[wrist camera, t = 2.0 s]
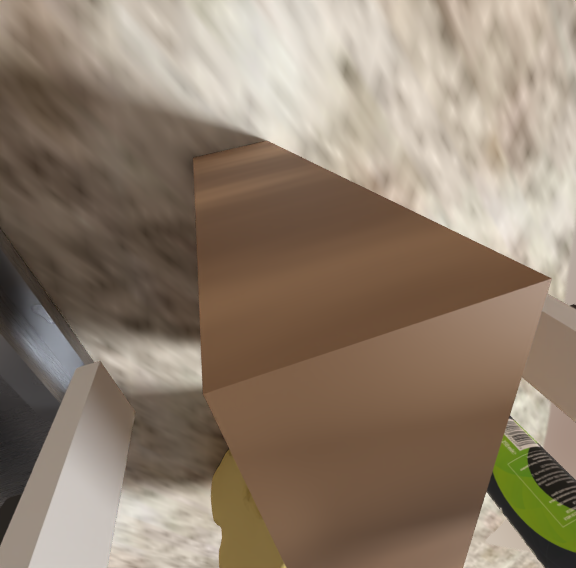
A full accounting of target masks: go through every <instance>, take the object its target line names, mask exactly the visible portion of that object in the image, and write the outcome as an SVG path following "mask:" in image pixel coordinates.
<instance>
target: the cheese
mask: <svg viewBox="0 0 576 568" xmlns="http://www.w3.org/2000/svg"><path fill="white" fill-rule="evenodd" d="M211 505H212V513H213V519H214V521H215V523H216V524H217V525H219V526H220V527H221V529H222V541H221V546H220V549H219V568H286V566H285V564H284V562H283V560H282V558H281V556H280V554H279V552H278V549H277V547H276V545H275V543H274V541H273V539H272V537H271V535H270V533H269V531H268V529H267V527H266V524H265V522H264V520H263V518H262V516H261V514H260V512H259V510H258V508H257V506H256V504H255V502H254V499H253V497H252V495H251V493H250V491H249V489H248V487H247V485H246V483H245V481H244V479H243V477H242V474H241V472H240V470H239V468H238V466H237V464H236V462H235V460H234V458H233V456H232V454H231V452H230V449H229V450H228V451H227V452H226V454H225V456H224V458H223V459H222V461H221V464H220V465H219V467H218V468H217V470H216V472H215V473H214V476H213V479H212V487H211Z"/></svg>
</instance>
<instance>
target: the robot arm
mask: <svg viewBox="0 0 576 568" xmlns="http://www.w3.org/2000/svg"><path fill="white" fill-rule="evenodd" d="M522 378H524V379H525V380H526V381H527V382H528V383H530V384H531V385H532V386H533V387H534V388H535V389H537V390H538V391H539V392H540V393H541V394H543V395H544V396H545V397H546V398H547V399H548V400H550V401H551V402H552V403H553V404H555V405H556V406H557V407H558V408H559V409H560V410H561V411H563V412H564V413H565V414H566V415H567V416H569V417H570V418H571V419H572V420H573V421H575V422H576V305H574V304H573V305H570V306H569V305H567V304H565V303H564V302H562V301H560V300H558V299H556V298H555V297H553V296H551V295H549V294H547V296H546V299H545V302H544V306H543V309H542V312H541V315H540V319H539V322H538V325H537V328H536V332H535V335H534V338H533V341H532V345H531V348H530V351H529V354H528V358H527V361H526V364H525V367H524V371H523V374H522ZM134 417H135V410H134V409H133V408H132V406H131V405H130V403H129V402H128V400H127V399H126V398H125V396H124V395H123V393H122V392H121V390H120V389H119V387H118V386H117V385H116V383H115V382H114V380H113V379H112V377H111V376H110V374H109V373H108V372H107V370H106V369H105V367H104V366H103V364H102V363H101V361H98V362H95V363H91V364H88V365H85V366H81V367H78V368H76V370H75V372H74V374H73V377H72V379H71V381H70V384H69V386H68V388H67V391H66V393H65V395H64V398H63V400H62V402H61V405H60V407H59V409H58V412H57V414H56V417H55V419H54V421H53V424H52V426H51V428H50V431H49V433H48V435H47V438H46V440H45V442H44V445H43V447H42V449H41V452H40V454H39V456H38V459H37V461H36V463H35V466H34V468H33V470H32V473H31V475H30V477H29V480H28V482H27V484H26V487H25V489H24V491H23V493H22V494H19V495H16V496H13V497H10V498H7V500H6V501H5V502H4V504H3V505H2V506H1V508H0V568H108V563H109V557H110V552H111V546H112V540H113V535H114V529H115V524H116V518H117V512H118V507H119V501H120V496H121V490H122V484H123V479H124V473H125V468H126V462H127V456H128V451H129V445H130V440H131V434H132V428H133V423H134Z"/></svg>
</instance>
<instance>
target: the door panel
mask: <svg viewBox="0 0 576 568" xmlns="http://www.w3.org/2000/svg"><path fill="white" fill-rule="evenodd" d="M193 170H194V194H195V218H196V242H197V266H198V289H199V313H200V337H201V361H202V385H203V395H204V397H205V399H206V402H207V404H208V406H209V408H210V410H211V412H212V414H213V416H214V418H215V420H216V422H217V424H218V427H219V429H220V431H221V433H222V435H223V437H224V439H225V441H226V443H227V445H228V447H229V449H230V452H231V454H232V456H233V458H234V460H235V462H236V464H237V466H238V468H239V470H240V472H241V474H242V477H243V479H244V481H245V483H246V485H247V487H248V489H249V491H250V493H251V495H252V497H253V499H254V502H255V504H256V506H257V508H258V510H259V512H260V514H261V516H262V518H263V520H264V522H265V524H266V527H267V529H268V531H269V533H270V535H271V537H272V539H273V541H274V543H275V545H276V547H277V549H278V552H279V554H280V556H281V558H282V560H283V562H284V564H285V566H286V568H463V566H464V562H465V559H466V556H467V553H468V549H469V546H470V543H471V540H472V536H473V533H474V530H475V527H476V523H477V520H478V517H479V514H480V510H481V507H482V504H483V501H484V497H485V494H486V491H487V488H488V484H489V481H490V478H491V475H492V471H493V468H494V465H495V462H496V458H497V455H498V452H499V449H500V445H501V442H502V439H503V436H504V432H505V429H506V426H507V423H508V419H509V416H510V413H511V410H512V406H513V403H514V400H515V397H516V393H517V390H518V387H519V384H520V380H521V377H522V374H523V371H524V367H525V364H526V361H527V358H528V354H529V351H530V348H531V345H532V341H533V338H534V335H535V332H536V328H537V325H538V322H539V319H540V315H541V312H542V309H543V306H544V302H545V299H546V296H547V293H548V289H549V286H550V283H551V280H552V279H551V278H549V277H547V276H545V275H543V274H541V273H539V272H537V271H535V270H533V269H531V268H529V267H527V266H525V265H523V264H521V263H518V262H516V261H514V260H512V259H510V258H508V257H506V256H504V255H502V254H500V253H498V252H496V251H494V250H492V249H490V248H488V247H485V246H483V245H481V244H479V243H477V242H475V241H473V240H471V239H469V238H467V237H465V236H463V235H461V234H459V233H457V232H454V231H452V230H450V229H448V228H446V227H444V226H442V225H440V224H438V223H436V222H434V221H432V220H430V219H428V218H426V217H424V216H421V215H419V214H417V213H415V212H413V211H411V210H409V209H407V208H405V207H403V206H401V205H399V204H397V203H395V202H393V201H391V200H388V199H386V198H384V197H382V196H380V195H378V194H376V193H374V192H372V191H370V190H368V189H366V188H364V187H362V186H360V185H357V184H355V183H353V182H351V181H349V180H347V179H345V178H343V177H341V176H339V175H337V174H335V173H333V172H331V171H329V170H327V169H324V168H322V167H320V166H318V165H316V164H314V163H312V162H310V161H308V160H306V159H304V158H302V157H300V156H298V155H296V154H294V153H291V152H289V151H287V150H285V149H283V148H281V147H279V146H277V145H275V144H273V143H271V142H269V141H264V142H259V143H255V144H251V145H246V146H242V147H238V148H233V149H229V150H225V151H220V152H216V153H212V154H207V155H203V156H199V157H194V158H193Z"/></svg>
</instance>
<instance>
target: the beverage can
mask: <svg viewBox="0 0 576 568" xmlns="http://www.w3.org/2000/svg"><path fill="white" fill-rule="evenodd" d="M486 492H487V493H488V494H489V496H490V497H491V498H492V500H493V501H494V502H495V504H496V505H497V506H498V507H499V509H500V510H501V511H502V513H503V514H504V515H505V517H506V518H507V519H508V520H509V522H510V523H511V525H512V526H513V527H514V529H515V530H516V531H517V532H518V534H519V535H520V536H521V537H522V539H523V540H524V542H525V543H526V544H527V546H528V547H529V548H530V550H531V551H532V552H533V553H534V555H535V556H536V557H537V559H538V560H539V561H540V563H541V564H542V565H543V567H544V568H576V480H575V479H574V478H573V477H572V476H571V475H570V474H569V473H568V472H567V471H566V470H565V469H564V468H563V467H562V466H561V465H560V464H558V462H557V461H556V460H555V459H554V458H553V457H552V456H550V454H548V453H547V452H546V451H545V450H544V449H543V448H542V447H541V446H540V445H539V444H538V443H537V442H536V441H535V440H534V439H533V438H532V437H531V436H530V435H529V434H528V433H527V432H526V431H525V430H524V429H523V428H522V427H521V426H520V425H519V424H518V423H517V422H516V421H515V420H514V419H513V418H512V417H511V416H509V419H508V423H507V426H506V429H505V432H504V436H503V439H502V442H501V445H500V449H499V452H498V455H497V458H496V462H495V465H494V468H493V471H492V475H491V478H490V481H489V484H488V488H487V491H486Z"/></svg>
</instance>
